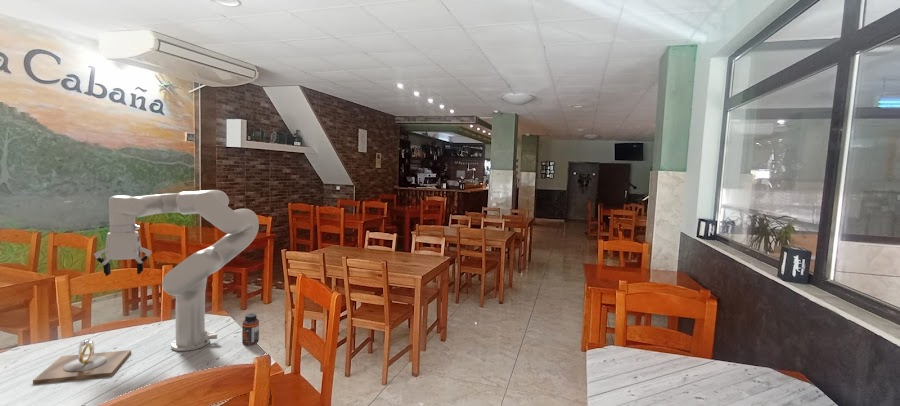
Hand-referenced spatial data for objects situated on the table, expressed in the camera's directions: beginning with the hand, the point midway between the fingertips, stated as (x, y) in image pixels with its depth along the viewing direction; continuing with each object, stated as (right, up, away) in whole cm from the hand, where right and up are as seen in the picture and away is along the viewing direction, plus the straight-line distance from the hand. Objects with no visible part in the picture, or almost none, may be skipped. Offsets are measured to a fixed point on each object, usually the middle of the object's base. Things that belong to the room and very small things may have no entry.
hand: (123, 274), depth 157 cm
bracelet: (0, -27, -16) cm, 32 cm away
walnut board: (0, -29, -16) cm, 33 cm away
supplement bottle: (+43, -29, +9) cm, 53 cm away
